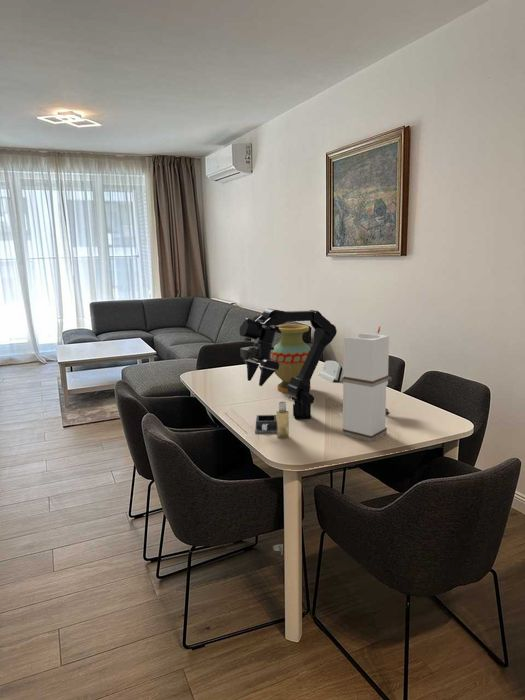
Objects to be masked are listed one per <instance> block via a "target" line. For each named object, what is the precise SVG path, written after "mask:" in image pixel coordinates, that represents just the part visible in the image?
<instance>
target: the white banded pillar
mask: <svg viewBox="0 0 525 700" xmlns="http://www.w3.org/2000/svg"><path fill="white" fill-rule="evenodd" d="M389 344H390V335H385V334H384V335H383V334H379V335H378V334H374V333H373V334H372V333H366V332H365V333H363V332H359V333H358V337H351V336H343V355H342V356H343V365H342V366H343V377H342V383H343V384H342V385H343V386H342V400H343V401H342V435H343V436H344V435H345V436H347V437H352V438H356V439H360V440H362V441H363V440H364V441H366V442H371V443H372V442H374V441H376V440H377V439H379V438H381V437H382V436H384V435H386V434H387V433H388V432H387V431H388V430H387V427H386V415H387V414H386V406H387V405H386V404H387V403H386V402H387V386H388V385H389V382H388V375H389V354H390V353H389V351H390V349H389V348H390V347H389V346H390V345H389Z"/></svg>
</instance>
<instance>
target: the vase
mask: <svg viewBox="0 0 525 700" xmlns="http://www.w3.org/2000/svg"><path fill="white" fill-rule="evenodd" d="M277 326H278V327H279V329H280V331H281V333H278V334H279V336H280V340H279V342H277V344H275V345H274V346H273V347H274V350H271V353H270V358H271V360H273V361H276V362H278V363H279V365H280V366H279V370H276V372H274V374H275V375H276V377H278V378H279V379H280V380H281V382H280V383H278V384H277V391H278V392H280V393H284V394H285V393H286V394H288V387H289V386H287V385H288V384H289V383H290V380H291V378H292V377H294V378H296V377H297V376H298V375H299V373H300V371H301V369H302V367H303V365H304V362H305V360H306V358H307V356H308V354H309V352H310V349H311V346H309V345H308V344H307V343H306V342H304V340H303V334H304V333H307V332H308V331H309V330H310V326H309V325H306V324H293V323H292V324H281V325H277ZM273 327H275V325H273Z"/></svg>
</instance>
